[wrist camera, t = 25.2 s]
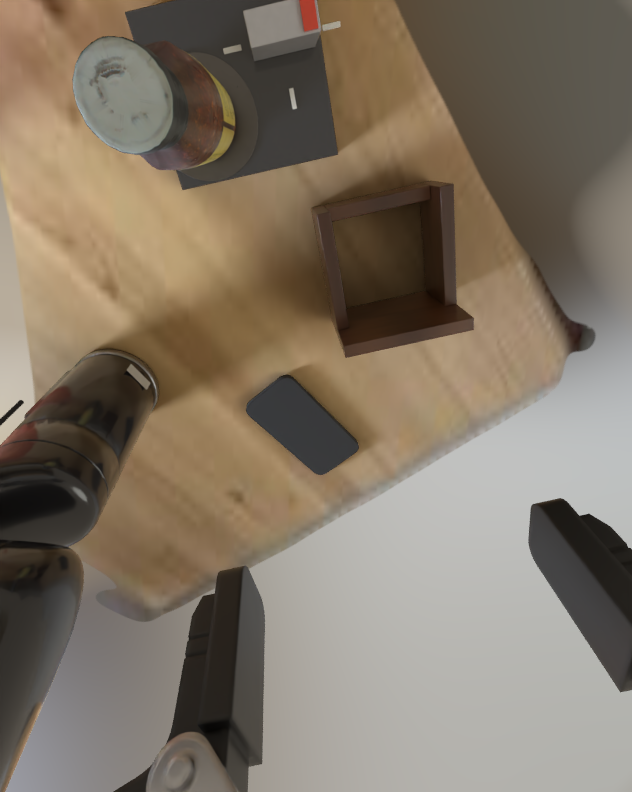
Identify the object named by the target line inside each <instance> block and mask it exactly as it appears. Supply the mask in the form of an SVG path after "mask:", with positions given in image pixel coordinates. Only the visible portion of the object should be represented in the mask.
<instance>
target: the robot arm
mask: <svg viewBox="0 0 632 792" xmlns="http://www.w3.org/2000/svg"><path fill="white" fill-rule="evenodd" d="M158 396H159V386H158V382H157V379H156V377H155V375H154V374H153V372H152V371H151V369H150V368H149V367H148V366H147V365H146V364H145V363H144V362H143V361H141V360H140V359H139V358H137V357H135V356H133V355H131V354H129V353H126V352H123V351H119V350H112V349H105V350H98V351H94V352H92V353H90V354H88V355H86V356H85V357H83V358H82V359H81V360H80V361H79V362H78V363H77V364H76V365H75V367H74V368H73V370H71V371H68V372H66V373H65V374H64V375H63V376H62V377H61V378H60V379H59V381H58V382H57V383H56V384H55V385H54V386H53V387H52V388H51V389H50V390H49V391H48V392H47V393H46V394H45V395H44V396H43V397H42V398H41V399H40V400H39V401H38V402H37V403H36V404H35V405H34V406H33V407H32V408H31V409H30V410H29V411H28V412H27V413H26V414H25V420H24V421H23V422H22V423H21V424H20V425H19V426H18V427H17V428H16V429H15V430H14V431H13V432H12V433H11V435H10V436H9V437H8V438H7V439H6V440H5V441H4V442H3V443H2V444H1V445H0V792H5V790H6V788H7V786H8V784H9V781H10V779H11V776H12V774H13V772H14V770H15V767H16V765H17V763H18V761H19V758H20V756H21V754H22V751H23V749H24V747H25V744H26V742H27V740H28V738H29V735H30V733H31V731H32V728H33V726H34V724H35V722H36V719H37V717H38V715H39V712H40V710H41V708H42V706H43V703H44V701H45V698H46V696H47V694H48V692H49V689H50V687H51V684H52V682H53V680H54V677H55V675H56V672H57V670H58V667H59V665H60V663H61V660H62V658H63V655H64V653H65V650H66V647H67V645H68V642H69V639H70V636H71V634H72V631H73V628H74V624H75V621H76V617H77V614H78V610H79V607H80V602H81V597H82V591H83V583H84V579H83V578H84V572H83V565H82V562H81V559H80V557H79V556H78V554H77V553H76V552H75V551H74V550H72V549H70V548H68V547H69V546H71V545H73V544H75V543H77V542H78V541H80V540H81V539H83V538H84V537H85V536H86V535H87V534H88V533H89V532H90V531H91V530H92V529H93V528H94V526H95V525H96V523H97V521H98V519H99V517H100V515H101V513H102V511H103V509H104V507H105V505H106V503H107V501H108V499H109V497H110V495H111V493H112V491H113V489H114V487H115V485H116V483H117V480H118V478H119V476H120V474H121V472H122V470H123V468H124V466H125V464H126V462H127V460H128V458H129V456H130V454H131V452H132V450H133V448H134V446H135V444H136V442H137V440H138V438H139V435H140V433H141V431H142V429H143V427H144V425H145V423H146V421H147V419H148V417H149V415H150V413H151V412H152V411H153V409H154V407H155V405H156V403H157V400H158ZM23 403H24V401H22V400H19V401H18V402H17V403H16V404H15V405H14V406H13V407H12V408H11V409H10V410H9V411H8V412H7V413H6V414H5V415H4V416H3V417H2V418H0V426H1V425H2V424H3V423H4V422H5V421H6V420H7V419H8V418H9V417H10V416H11V415H12V414H13V413H14V412H15V411H16V410H17V409H18V408H19V407H20V406H21V405H22V404H23ZM529 547H530V551H531V554H532V556H533V559H534V561H535V563H536V564H537V566H538V567H539V569H540V570H541V572H542V573H543V575H544V576H545V578H546V580H547V581H548V583H549V584H550V586H551V587H552V589H553V590H554V592H555V593H556V594H557V596H558V598H559V599H560V601H561V602H562V604H563V605H564V607H565V608H566V610H567V611H568V613H569V615H570V616H571V618H572V619H573V621H574V622H575V624H576V625H577V627H578V628H579V630H580V631H581V633H582V634H583V636H584V637H585V639H586V640H587V642H588V643H589V645H590V647H591V648H592V649H593V651H594V653H595V654H596V655H597V657H598V659H599V660H600V662H601V663H602V665H603V666H604V668H605V669H606V671H607V672H608V674H609V675H610V677H611V678H612V680H613V682H614V683H615V685H616V686H617V688H618V689H619V691H620V692H623V691H629V690H632V549H631V548H628V547H627V544H626V543H625V542H624V541H623V540H622V538H621V537H620V536H619V535H618V534H617V533H616V532H615V531H614V530H613V529H612V528H611V527H610V526H608V525H607V524H605V523H603V522H602V521H600V520H599V519H597V518H595V517H594V516H592V515H590V514H586V515H582V516H579V515H578V514H577V513H576V511H575V510H574V509H573V508H572V507H571V506H570V505H569V503H568V502H567V501H565V500H564V499H561V498H559V499H555V500H550V501H546V502H541V503H536V504H533V505H532V506H531V514H530V527H529ZM264 633H265V615H264V607H263V602H262V599H261V596H260V594H259V592H258V589H257V587H256V585H255V583H254V580H253V578H252V576H251V574H250V571H249V569H248V567H247V566H242V567H237V568H232V569H228V570H223V571H220V572H219V573H218V576H217V582H216V589H215V594H211V595H206V596H203V597H202V599H201V600H200V602H199V605H198V606H197V608H196V610H195V612H194V613H193V616H192V620H191V626H190V631H189V636H188V637H189V641H188V642H187V647H186V653H185V655H186V658H185V659H184V665H183V670H182V675H181V681H180V686H179V693H178V697H177V703H176V709H175V714H174V720H173V725H172V729H171V733H170V736H169V738H168V741H167V743H166V745H165V746H164V747H163V748H162V749H161V751H160V752H159V754H158V755H157V757H156V758H155V760H154V762H153V764H152V765H151V766H150V767H149V768H148V769H147V770H146V771H145V772H143V773H142V774H141V775H139V776H138V777H136V778H135V779H133V780H131V781H130V782H128V783H127V784H125V785H124V786H122V787H120V788H119V789H117V790H115V791H114V792H247V790H248V767H249V766H254V765H259V764H262V742H263V690H264V688H263V687H264V684H263V683H264V635H265V634H264Z"/></svg>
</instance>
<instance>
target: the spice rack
mask: <svg viewBox="0 0 632 792" xmlns="http://www.w3.org/2000/svg"><path fill="white" fill-rule="evenodd" d="M417 202H420V208H421V224H422V240H423V256H424V271H425V287H426V291H422V292H417V293H413V294H408V295H404V296H399V297H395V298H390V299H386V300H381V301H377V302H372V303H368V304H363V305H359V306H354V307H350V308H346V304H345V298H344V292H343V286H342V280H341V274H340V268H339V262H338V256H337V250H336V244H335V238H334V232H333V226H332V222H333V221H338V220H342V219H347V218H351V217H355V216H360V215H364V214H369V213H373V212H378V211H382V210H386V209H391V208H395V207H400V206H404V205H408V204H413V203H417ZM311 210H312V215H313V221H314V226H315V231H316V237H317V242H318V248H319V253H320V258H321V264H322V269H323V274H324V280H325V285H326V290H327V296H328V301H329V306H330V311H331V317H332V322H333V325H334V327H335V330H336V333H337V336H338V338H339V341H340V344H341V346H342V349H343V352H344V355H345V357H346V358H347V357H352V356H356V355H361V354H365V353H370V352H374V351H379V350H384V349H388V348H393V347H397V346H402V345H406V344H411V343H416V342H420V341H425V340H429V339H434V338H438V337H443V336H447V335H452V334H457V333H461V332H466V331H470V330H474V318H473V317H472V316H471V315H469V314H468V313H467V312H466V311H464V310H463V309H462V308H460V307H459V306H458V305H457V300H456V262H455V223H454V184H451V183H443V182H435V181H428V182H423V183H419V184H414V185H410V186H406V187H401V188H397V189H392V190H388V191H384V192H379V193H375V194H370V195H366V196H362V197H357V198H353V199H348V200H344V201H340V202H335V203H331V204H326V205H322V206H317V207H313V208H311Z"/></svg>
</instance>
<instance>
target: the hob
mask: <svg viewBox="0 0 632 792" xmlns="http://www.w3.org/2000/svg"><path fill="white" fill-rule="evenodd" d="M280 1H285V0H173V1H169V2H165V3H161V4H157V5H153V6H148V7H144V8H140V9H136V10H132V11H128V12H125V14H126V17H127V20H128V24H129V27H130V30H131V33H132V36H133V39H134V41H135V42H137V43H139V44H141V45H145V44H149V43H154V42H159V41H163V40H165V41H168V42H170V43H172V44H173V45H175V46H177V47H178V48H179V49H181V50H183V51H185V52H186V53H192V52H200V53H206V54H210V55H213V56H215V57H217V58H219V59H221V60H223V61H225V62H226V63H227V64H229V65H230V66H231V67H232V68H233V69H235V70H236V71H237V73H238V74H239V75H240V76H241V77H242V79H243V80H244V82H245V83H246V84H247V86H248V88H249V90H250V92H251V94H252V97H253V99H254V102H255V106H256V110H257V116H258V135H257V141H256V145H255V148H254V151H253V153H252V155H251V157H250V159H249V160H248V162H247V163H246V164H245V166H244V167H243V168H242V169H241V170H240V171H238V172H237V173H236V174H234V175H233V176H230V177H228V178H226V179H223V180H218V181H202V180H198V179H194V178H192V177H190V176H187V175H186V174H184V173H182V172H181V171H179V170H176V171H177V174H178V177H179V180H180V184H181V187H182V190H186V189H190V188H194V187H199V186H203V185H207V184H212V183H216V182H221V181H225V180H229V179H234V178H238V177H242V176H247V175H251V174H255V173H260V172H264V171H268V170H273V169H277V168H281V167H286V166H290V165H295V164H299V163H303V162H308V161H312V160H316V159H321V158H325V157H329V156H334V155H338V151H337V144H336V137H335V131H334V124H333V117H332V110H331V103H330V97H329V90H328V83H327V76H326V70H325V63H324V56H323V49H322V42H321V36H320V35H319V38H318V41H317V44H316V46H315V47H312V48H308V49H304V50H299V51H295V52H291V53H287V54H283V55H279V56H274V57H270V58H266V59H262V60H258V61H254V60H253V56H252V52H251V47H250V43H249V38H248V34H247V29H246V24H245V19H244V14H243V11H244V10H248V9H252V8H256V7H260V6H264V5H268V4H272V3H276V2H280ZM340 27H341V26H340V21H337V22H333V23H329V24H324V25H322V30H323V31H327V30H331V29H335V28H340Z"/></svg>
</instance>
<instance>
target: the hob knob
mask: <svg viewBox="0 0 632 792" xmlns="http://www.w3.org/2000/svg"><path fill="white" fill-rule="evenodd" d="M243 14H244V19H245V24H246V29H247V34H248V38H249V43H250V47H251V52H252V56H253V60H254V61H258V60H262V59H266V58H270V57H274V56H279V55H283V54H287V53H291V52H295V51H299V50H304V49H308V48H312V47H315V46H316V44H317V41H318V38H319V35H320V33H321V24H320V18H319V11H318V4H317V0H285V1H280V2H276V3H272V4H268V5H264V6H260V7H256V8H252V9H248V10H244V11H243Z"/></svg>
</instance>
